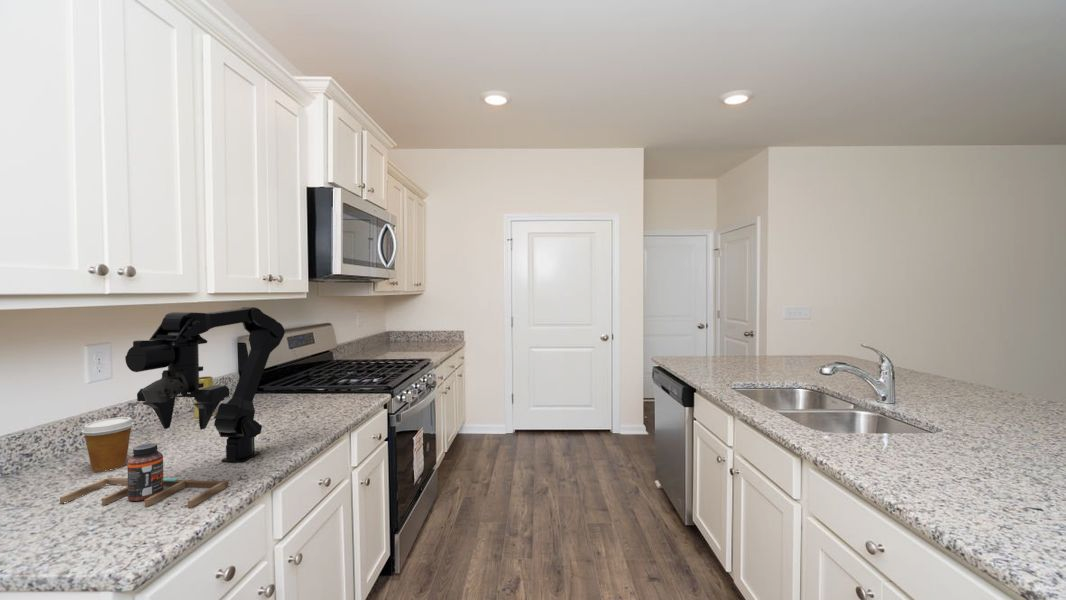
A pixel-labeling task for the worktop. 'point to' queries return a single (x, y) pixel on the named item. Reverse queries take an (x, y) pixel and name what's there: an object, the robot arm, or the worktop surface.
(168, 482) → the notched rack
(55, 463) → the worktop surface
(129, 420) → the disposable coffee cup
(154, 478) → the supplement bottle
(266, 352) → the robot arm
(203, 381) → the vase
